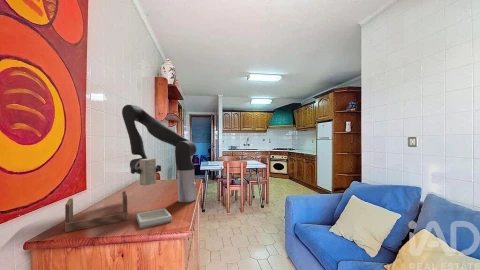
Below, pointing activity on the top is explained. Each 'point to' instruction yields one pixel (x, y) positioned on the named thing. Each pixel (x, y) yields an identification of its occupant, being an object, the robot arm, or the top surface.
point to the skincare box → (147, 171)
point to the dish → (153, 218)
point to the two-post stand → (94, 221)
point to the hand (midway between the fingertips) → (148, 171)
